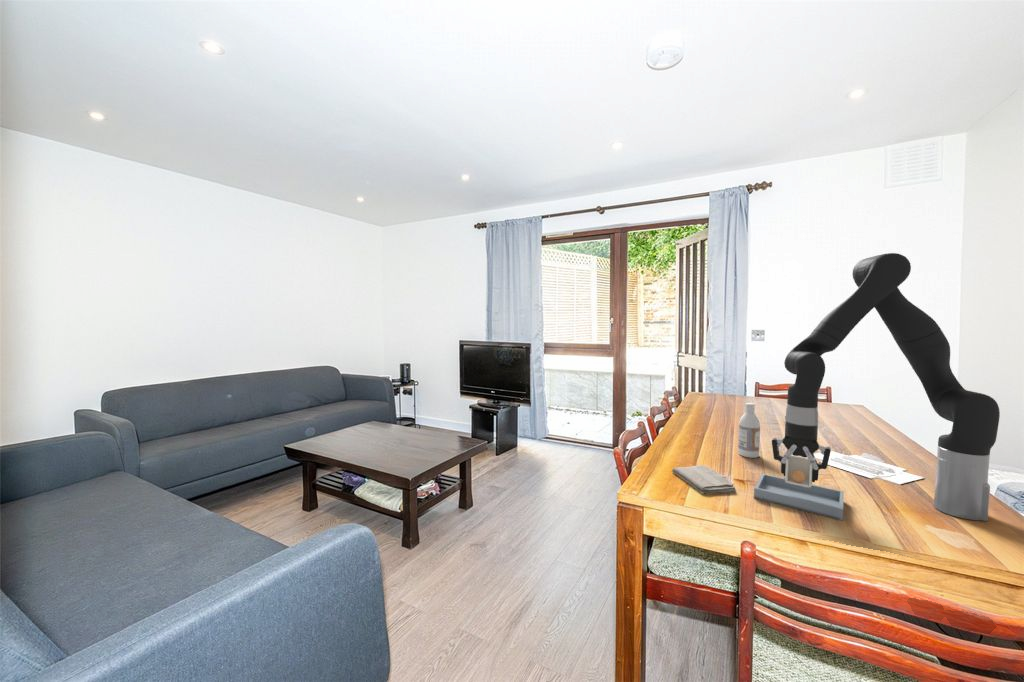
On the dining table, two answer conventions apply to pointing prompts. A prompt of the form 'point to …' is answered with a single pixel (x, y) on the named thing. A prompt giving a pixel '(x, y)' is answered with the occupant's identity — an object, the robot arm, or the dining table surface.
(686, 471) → the washcloth
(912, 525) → the dining table surface
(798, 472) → the ball
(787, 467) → the white cube stool
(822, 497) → the tray
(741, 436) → the bath foam
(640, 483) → the dining table surface
